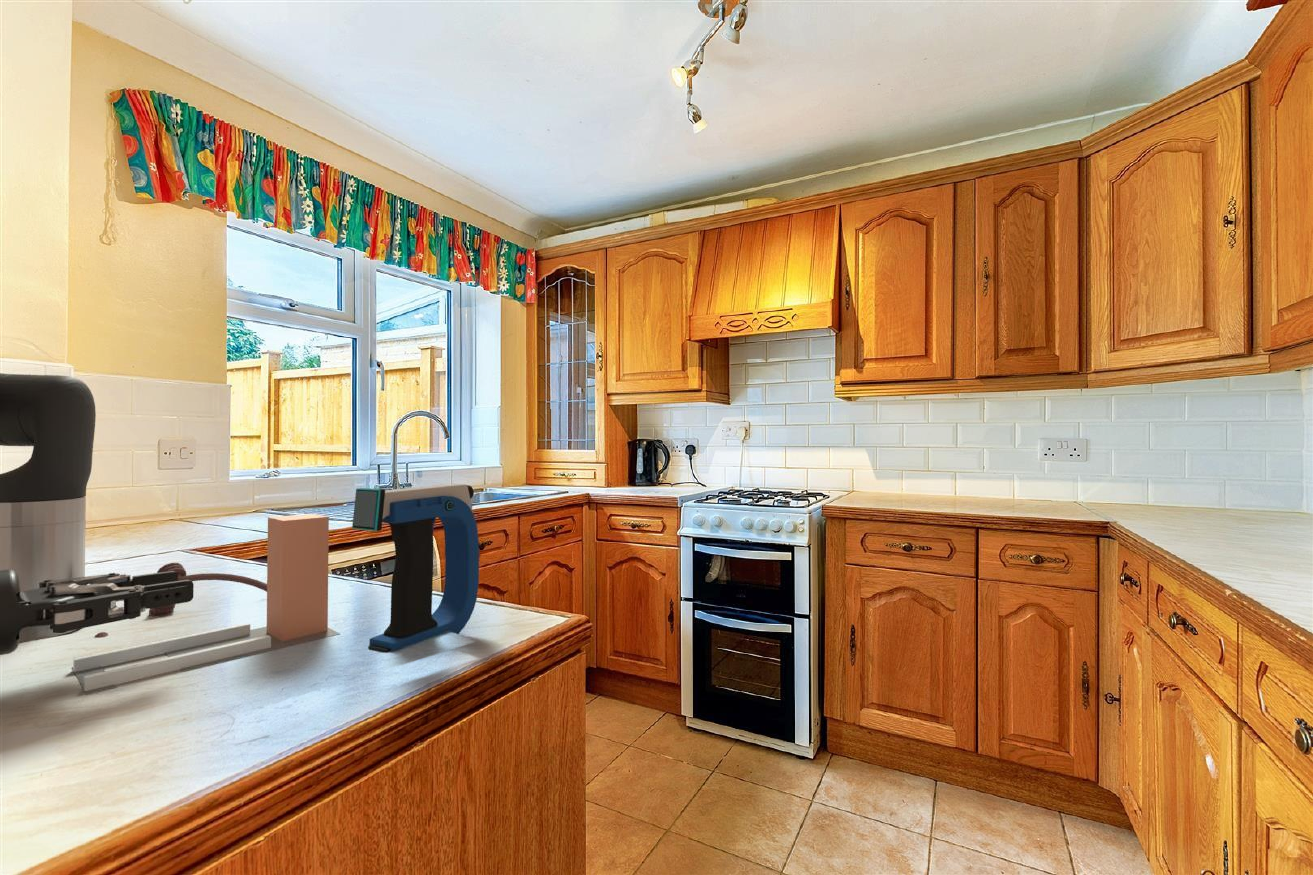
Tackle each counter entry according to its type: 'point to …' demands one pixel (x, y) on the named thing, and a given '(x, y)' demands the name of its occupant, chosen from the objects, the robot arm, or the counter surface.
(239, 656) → the channel
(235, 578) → the toilet paper hanger
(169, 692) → the counter surface
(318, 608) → the terracotta block
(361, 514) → the handheld scanner
